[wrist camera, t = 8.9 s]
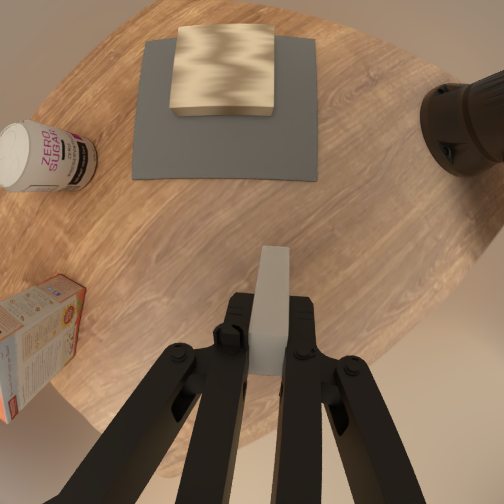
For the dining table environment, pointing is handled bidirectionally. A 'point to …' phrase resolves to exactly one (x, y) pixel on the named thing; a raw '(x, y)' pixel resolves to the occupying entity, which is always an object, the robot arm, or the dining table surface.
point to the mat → (229, 124)
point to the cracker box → (36, 339)
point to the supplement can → (44, 158)
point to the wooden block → (223, 70)
